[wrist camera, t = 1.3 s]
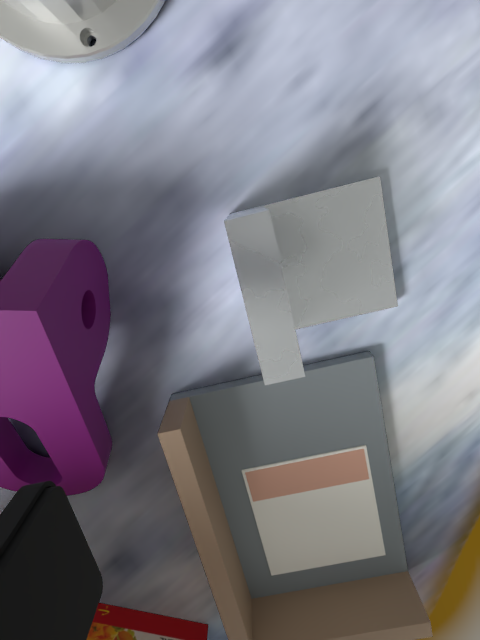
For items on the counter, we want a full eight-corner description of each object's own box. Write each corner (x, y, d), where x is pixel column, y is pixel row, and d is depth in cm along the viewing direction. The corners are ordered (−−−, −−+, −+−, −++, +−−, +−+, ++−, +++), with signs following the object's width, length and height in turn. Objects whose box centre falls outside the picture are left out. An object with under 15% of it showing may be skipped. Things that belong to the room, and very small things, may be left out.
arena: (171, 394, 29) (157, 433, 24) (369, 351, 28) (395, 383, 23) (238, 602, 34) (238, 668, 30) (405, 573, 33) (432, 636, 28)
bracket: (258, 332, 27) (264, 385, 20) (229, 213, 25) (223, 221, 17) (392, 302, 27) (452, 344, 19) (374, 177, 24) (434, 168, 17)
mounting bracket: (139, 401, 36) (93, 213, 23) (116, 497, 29) (37, 311, 17) (31, 398, 36) (-72, 209, 23) (-15, 494, 29) (-187, 305, 17)
